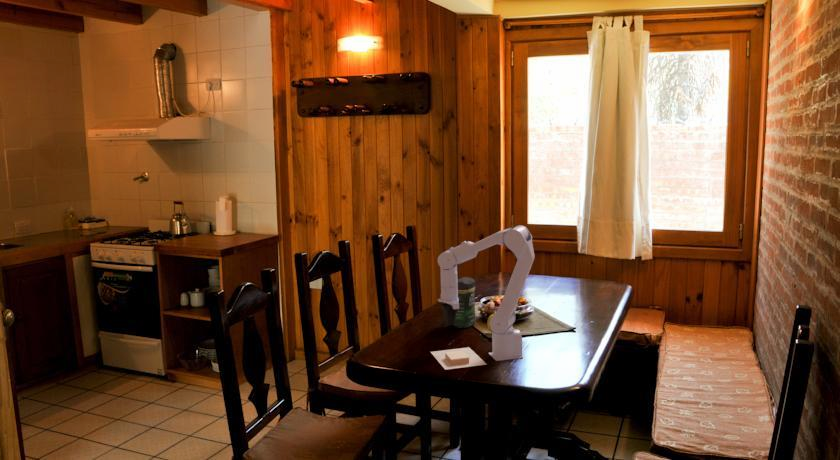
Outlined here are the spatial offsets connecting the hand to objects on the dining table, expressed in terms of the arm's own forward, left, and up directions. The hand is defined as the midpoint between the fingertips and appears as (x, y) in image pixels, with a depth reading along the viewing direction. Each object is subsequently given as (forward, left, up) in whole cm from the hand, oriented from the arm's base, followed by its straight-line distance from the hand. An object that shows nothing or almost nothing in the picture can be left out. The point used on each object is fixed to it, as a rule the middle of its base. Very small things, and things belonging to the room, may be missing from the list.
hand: (450, 324), depth 229 cm
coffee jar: (-14, -28, -10) cm, 32 cm away
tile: (+1, +8, -8) cm, 11 cm away
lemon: (-21, -13, -10) cm, 26 cm away
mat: (0, +8, -10) cm, 13 cm away
